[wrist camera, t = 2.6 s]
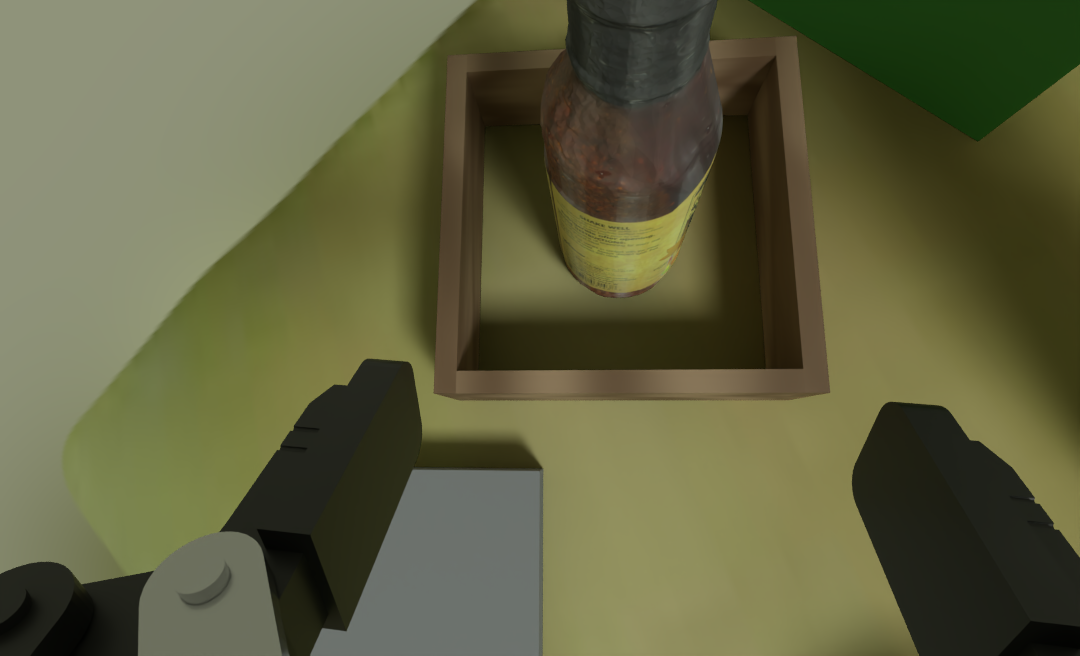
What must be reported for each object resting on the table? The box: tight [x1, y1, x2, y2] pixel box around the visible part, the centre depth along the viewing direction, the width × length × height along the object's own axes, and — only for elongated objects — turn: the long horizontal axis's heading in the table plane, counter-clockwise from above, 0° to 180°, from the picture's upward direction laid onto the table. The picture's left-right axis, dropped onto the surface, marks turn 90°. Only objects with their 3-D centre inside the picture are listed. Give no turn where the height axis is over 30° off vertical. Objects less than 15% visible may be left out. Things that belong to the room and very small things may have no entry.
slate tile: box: [311, 467, 543, 656], centre depth 27 cm, size 12×12×2 cm
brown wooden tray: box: [434, 36, 830, 400], centre depth 28 cm, size 17×17×5 cm
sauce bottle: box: [540, 0, 723, 298], centre depth 21 cm, size 6×6×20 cm
